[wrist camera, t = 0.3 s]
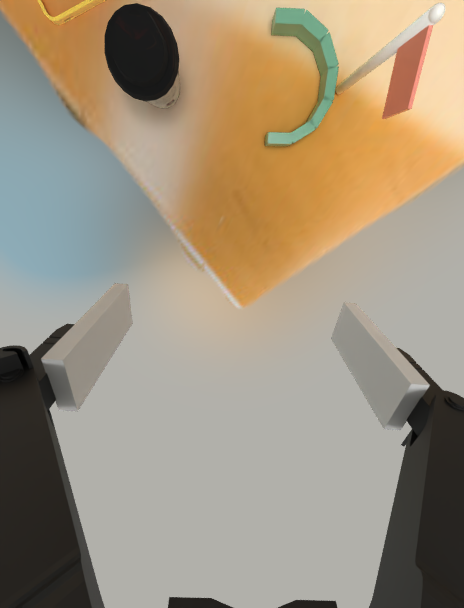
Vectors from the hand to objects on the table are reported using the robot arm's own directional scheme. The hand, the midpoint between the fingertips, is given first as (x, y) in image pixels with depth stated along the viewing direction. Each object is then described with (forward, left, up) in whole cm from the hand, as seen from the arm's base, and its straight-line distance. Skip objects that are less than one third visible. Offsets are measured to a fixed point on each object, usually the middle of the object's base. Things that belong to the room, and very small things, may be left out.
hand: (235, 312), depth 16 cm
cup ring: (-18, +9, -27) cm, 34 cm away
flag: (-16, +14, -27) cm, 34 cm away
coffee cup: (-18, -8, -27) cm, 34 cm away
